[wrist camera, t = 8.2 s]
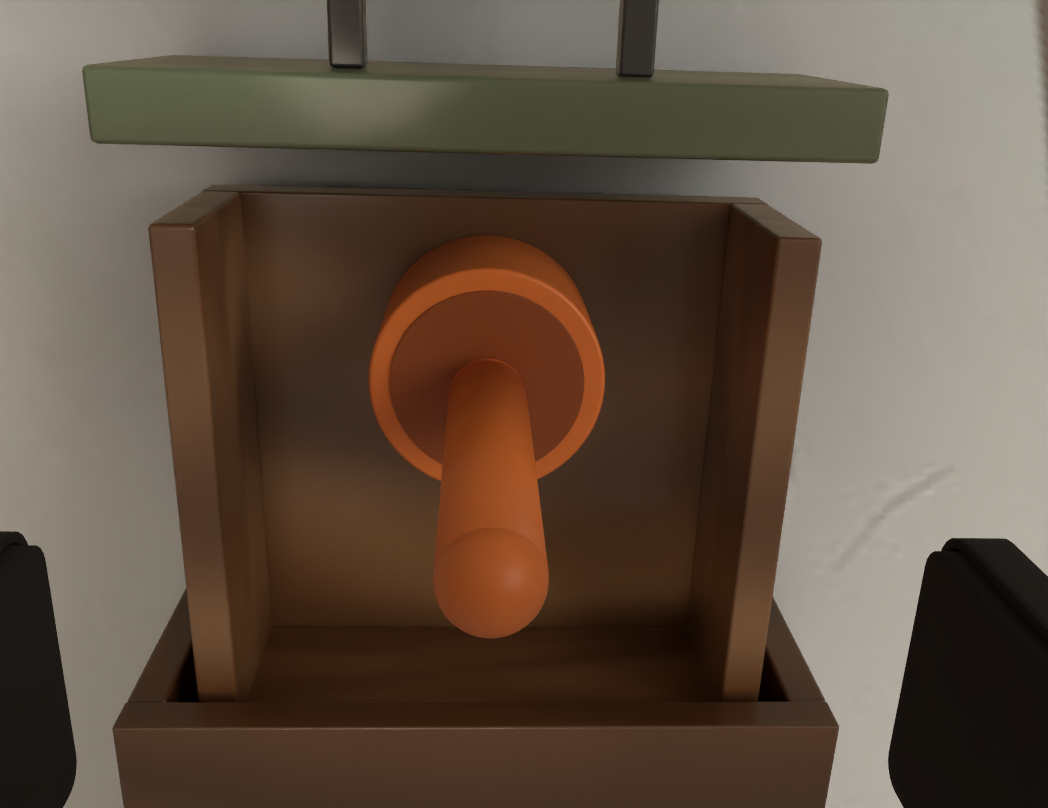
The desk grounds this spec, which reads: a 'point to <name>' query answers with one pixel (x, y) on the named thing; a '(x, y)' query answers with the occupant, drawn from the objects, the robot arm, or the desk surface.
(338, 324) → the drawer
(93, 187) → the desk surface
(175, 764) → the cabinet
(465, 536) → the mortar and pestle
